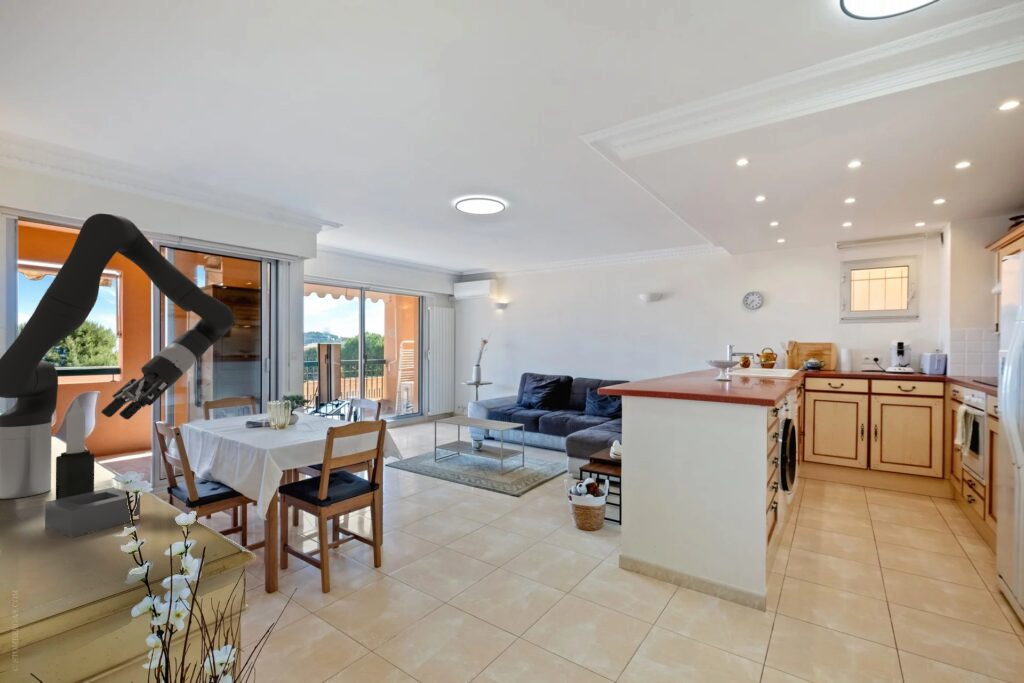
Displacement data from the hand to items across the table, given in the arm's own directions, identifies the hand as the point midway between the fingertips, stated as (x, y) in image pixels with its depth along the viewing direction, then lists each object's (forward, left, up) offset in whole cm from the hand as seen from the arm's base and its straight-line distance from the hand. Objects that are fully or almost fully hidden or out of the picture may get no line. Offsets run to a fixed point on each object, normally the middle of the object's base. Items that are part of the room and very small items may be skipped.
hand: (113, 416), depth 107 cm
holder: (+10, -7, -20) cm, 24 cm away
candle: (0, -7, -21) cm, 22 cm away
